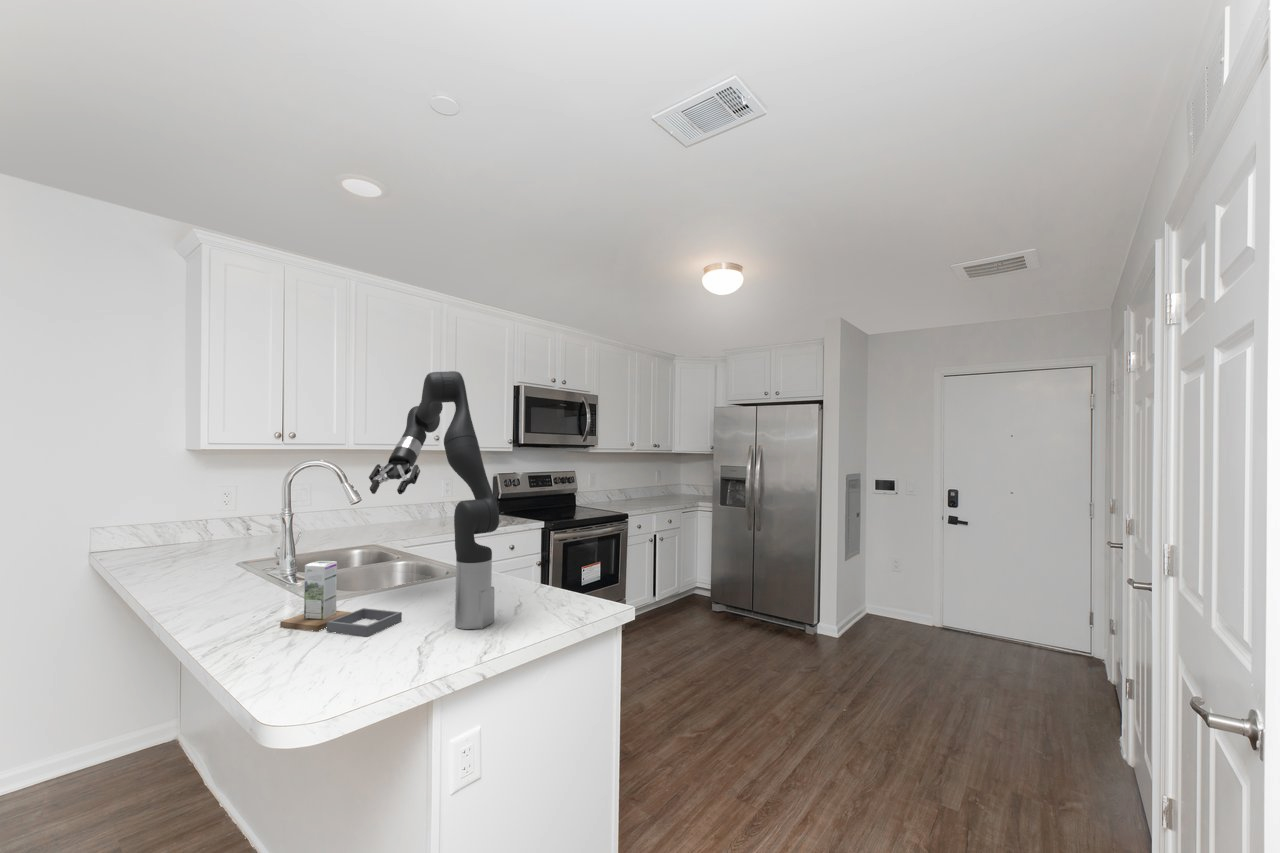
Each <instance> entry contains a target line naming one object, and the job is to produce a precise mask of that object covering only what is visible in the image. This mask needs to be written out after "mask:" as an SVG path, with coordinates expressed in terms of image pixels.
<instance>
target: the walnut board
mask: <svg viewBox="0 0 1280 853" xmlns="http://www.w3.org/2000/svg"><path fill="white" fill-rule="evenodd" d="M352 612H353V611H352ZM352 612H351V611H344V610H336V614H335V615H333V616H331V617H329V618H326V619H324V620H318V619H304V613H302V614H298V615H295V616H292V617H290V618H287V619H283V620H280V623H279V624H280V625H279V627H280V628H282V627H285V628H284V629H290V628H294V629H293V630H298V629H305V630H304V631H306V630H313V631H312V632H314V631H318V632H320V631H319V630H321V629H323V630H325V629H324V628H326V627H327V622H328V621H331V620H333V619H336V618H338V617H341V616H344V615H346V614H349V613H352ZM321 631H322V630H321Z"/></svg>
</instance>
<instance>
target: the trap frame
mask: <svg viewBox="0 0 1280 853" xmlns="http://www.w3.org/2000/svg"><path fill="white" fill-rule="evenodd" d="M402 616H403V614H402V611H394V610H393V611H392V610H384V609H376V608H375V609H374V608H366V607H363V608H360V609H357V610H355V611H352V613H349V614H346V615H344V616H341V617H338V618H336V619H333V620H331V621H328V622H327V628H326V629H325V630H326V631H329V632H328V633H332V632H336V633H335V634H340V633H343V634H342V635H348V634H349V636H357V637H365V636H366V637H367V638H368V637H369V636H372V635H374V633H375V634H377V633H379V632H381V631H383V629H384V630H385V628H386V629H388V628H390V627H393V626H394V624H395V625H398V624H400V623H401V622H402ZM362 618H363V619H365V618H367V620H374V619H376V621H374V622H372V623H370V624H358V623H356V622H358V621H360V620H362ZM357 620H358V621H357ZM352 622H353V623H352ZM392 625H393V626H392ZM387 627H388V628H387ZM376 632H377V633H376Z"/></svg>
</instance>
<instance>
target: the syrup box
mask: <svg viewBox="0 0 1280 853" xmlns="http://www.w3.org/2000/svg"><path fill="white" fill-rule="evenodd" d="M337 581H338V562H337V561H336V560H335V561H334V560H333V561H331V560H316V561H312V562H309V563H307V564H304V590H303V591H304V594H303V596H304V597H303V600H304V602H303V614H304V619H318V620H324V619H326V618H329V617H331V616H333V615H335V614H336V611H337V588H338V587H337Z"/></svg>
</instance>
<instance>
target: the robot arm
mask: <svg viewBox="0 0 1280 853" xmlns="http://www.w3.org/2000/svg"><path fill="white" fill-rule="evenodd" d="M464 380H465V379H464V378H463V375H462V374H461V372H459V371H454V370H453V371H452V370H451V371H449V370H448V371H433V372H429V373H428V374H426V376H425V378H424V380H423V387H422V394H421V400H420V403H419V404H418V405H416V406H413V407H411V408H410V410H409V411H408V414H407V416H406V417H407V418H406V427H405V430H404V432H403V434H402V436H401V438H400V440H399V441H398V442H397V444H396V445H395V447H394V449H393V451H392V453H391V454H390V456H389V458H388V461H387V464H386V465H385V466H382V465H381V464H376V465H375V467H374V468H373V470H372V471H371V472H370V474H369V476H368V479H369V480H370V483H371V485H370V486H369V490H370V492H371V494H372V495H375V494H376V493H377V491H378V489H379V488H380V485H381V484H383V483H386V482H388V481H389V480H401V479H402V480H401V481H400V483H399V485H398V486H397V489H396V491H397V493H398V495H403V493H405V491H406V490H407V487H408V486H410V485H416V483H417V480H418V478H419V475H420V473H421V469H420V466H419V465H418V464H415V463H416V462H417V460H418V457H419V456H420V453H421V449H422V448H423V446H424V443H425V442H426V439H427V433H429V434H430V433H433V432H435V431H436V430H438V428H439V426H440V423H441V413H442V411H443V406H444V405H443V403H444V404H445V403H454V405H455V412H454V414H453V417H452V419H451V422H450V424H449V426H448V427H447V429H446V432H445V434H444V437H443V446H444V450H445V455H446V459H447V462H448V465H449V466H450V467H451V468H452V471H454V472H455V473H456V474H457V475H458V476H459V477H460V479H462V481H463V482H465V483H466V484H467V486H468V487H469V489H470V490H471V493H472V495H473V497H474V499H469V500H468V499H467V500H465V499H464V500H460V501H459V502H458V503H457V504H456V505H455V509H454V513H453V514H454V516H453V522H454V523H453V525H454V527H453V528H454V549H455V558H456V560H455V603H454V604H455V605H454V606H455V608H454V610H455V612H454V613H455V614H454V618H455V619H454V626H455V627H456V628H458V629H460V630H462V629H463V630H475V629H477V630H478V629H480V630H481V629H485V628H486V627H487V626H489V625H491V624H492V623H495V590H496V589H495V586H493V585H492V575H493V574H492V570H493V569H492V567H493V564H492V563H493V550H492V548H491V547H489V546H486V545H482V544H479V543H477V542H476V540H475V535H480V534H487V533H493V532H495V531H496V530H497V529H498V527H499V524H500V511H499V507H498V505H497V501H496V498H495V495H494V493H493V490H492V488H491V485H490V482H489V479H488V476H487V473H486V469H485V467H484V466H485V465H484V463H483V458H482V453H481V449H480V444H479V442H478V436H477V434H476V430H475V427H474V424H473V420H472V416H471V411H470V408H469V407H470V406H469V402H468V395H467V389H466V388H467V387H466V384H465V381H464ZM408 474H409V476H408V477H407V475H408ZM385 475H386V476H385Z"/></svg>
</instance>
